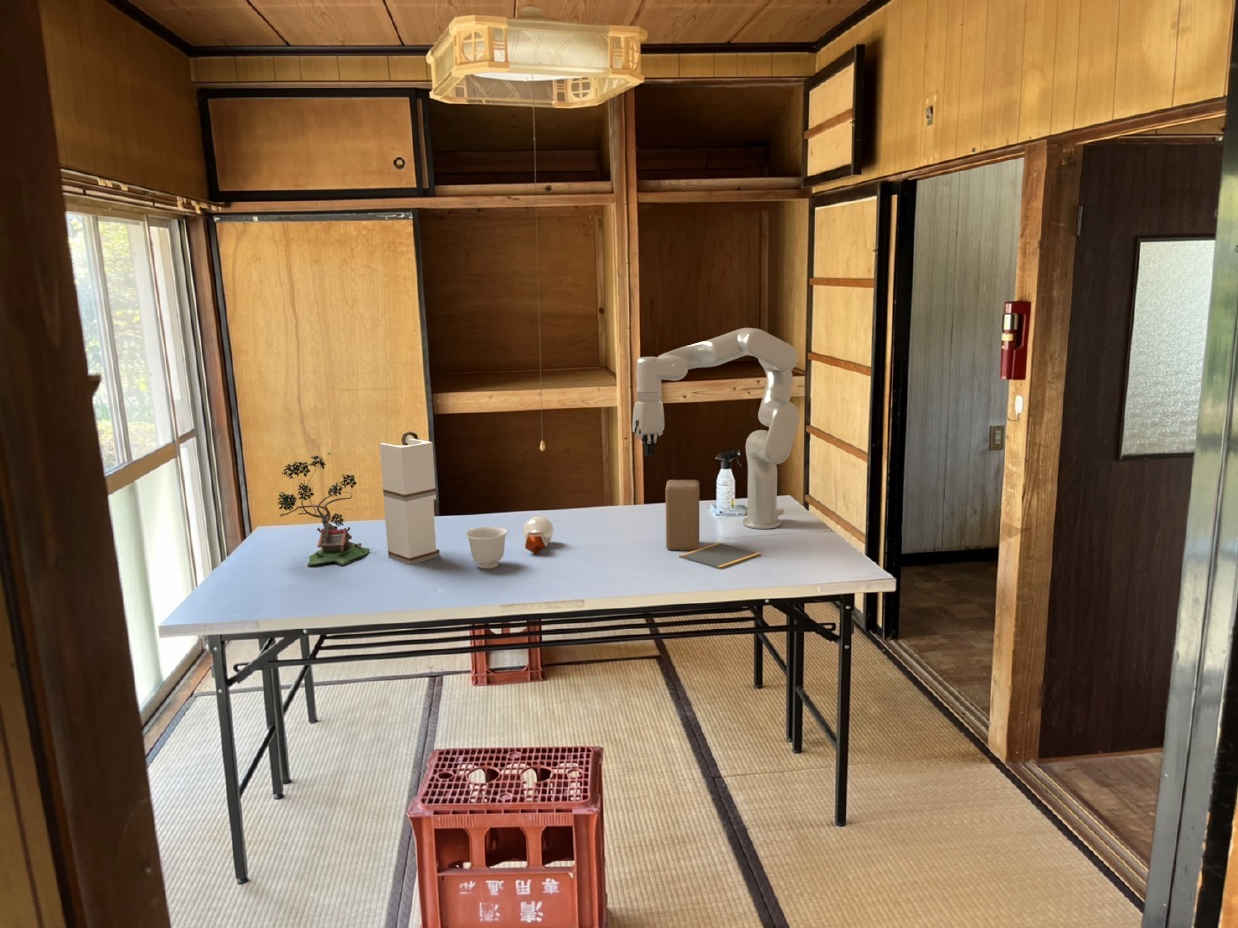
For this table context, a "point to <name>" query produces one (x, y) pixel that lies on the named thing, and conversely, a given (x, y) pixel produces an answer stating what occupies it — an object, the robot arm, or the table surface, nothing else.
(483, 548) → the teacup
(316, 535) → the table surface
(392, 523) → the white banded pillar
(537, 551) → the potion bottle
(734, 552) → the mat
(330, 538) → the bonsai tree
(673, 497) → the block
